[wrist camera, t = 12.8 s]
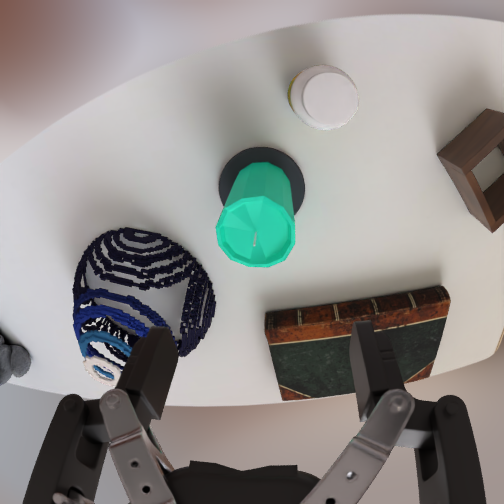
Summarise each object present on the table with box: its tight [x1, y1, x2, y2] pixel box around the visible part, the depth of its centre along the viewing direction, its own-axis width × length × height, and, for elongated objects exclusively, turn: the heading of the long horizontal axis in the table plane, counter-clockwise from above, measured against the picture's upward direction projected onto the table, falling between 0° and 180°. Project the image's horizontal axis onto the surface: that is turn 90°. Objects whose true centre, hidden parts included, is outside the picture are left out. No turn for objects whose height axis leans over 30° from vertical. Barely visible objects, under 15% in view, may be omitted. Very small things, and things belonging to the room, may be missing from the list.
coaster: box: [219, 147, 305, 215], centre depth 32 cm, size 9×9×1 cm
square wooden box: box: [437, 109, 504, 233], centre depth 26 cm, size 10×10×6 cm
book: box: [264, 286, 451, 401], centre depth 42 cm, size 17×4×25 cm
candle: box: [216, 162, 295, 267], centre depth 27 cm, size 6×6×12 cm
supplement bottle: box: [288, 65, 359, 130], centre depth 23 cm, size 5×5×10 cm
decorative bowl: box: [72, 227, 216, 387], centre depth 35 cm, size 20×20×14 cm
